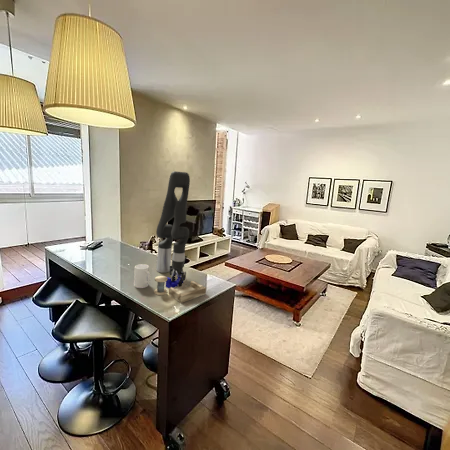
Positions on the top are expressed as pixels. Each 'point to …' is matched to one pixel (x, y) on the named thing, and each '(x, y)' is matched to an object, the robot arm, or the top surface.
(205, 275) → the top surface
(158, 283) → the bobbin
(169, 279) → the cable clip
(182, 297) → the notched board
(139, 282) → the mug
